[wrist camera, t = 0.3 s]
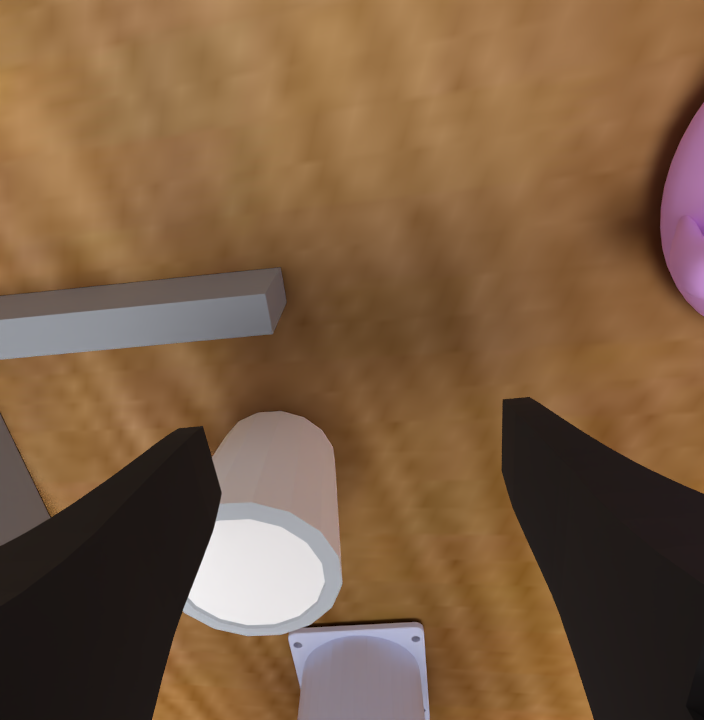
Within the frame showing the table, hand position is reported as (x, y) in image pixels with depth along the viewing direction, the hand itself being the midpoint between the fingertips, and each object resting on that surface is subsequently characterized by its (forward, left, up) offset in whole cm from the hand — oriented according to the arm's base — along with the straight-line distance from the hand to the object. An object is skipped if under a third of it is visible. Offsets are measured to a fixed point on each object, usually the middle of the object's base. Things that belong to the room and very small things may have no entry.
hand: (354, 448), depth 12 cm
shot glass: (-7, +5, -10) cm, 13 cm away
